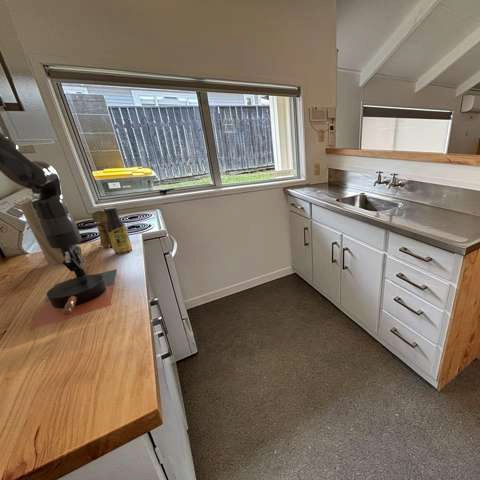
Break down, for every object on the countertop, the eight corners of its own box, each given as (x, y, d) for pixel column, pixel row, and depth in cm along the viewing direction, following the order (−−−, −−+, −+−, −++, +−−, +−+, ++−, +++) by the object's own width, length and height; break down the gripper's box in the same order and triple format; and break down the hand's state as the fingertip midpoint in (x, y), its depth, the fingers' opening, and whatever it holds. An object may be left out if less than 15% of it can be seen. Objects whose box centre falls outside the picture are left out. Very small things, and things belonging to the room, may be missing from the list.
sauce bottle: (122, 257, 106) (105, 210, 98) (112, 255, 108) (94, 209, 100) (137, 250, 112) (122, 206, 104) (127, 249, 113) (111, 205, 106)
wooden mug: (99, 253, 111) (83, 213, 104) (102, 243, 121) (87, 206, 114) (124, 247, 115) (111, 209, 108) (124, 239, 126) (112, 203, 119)
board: (29, 332, 65) (28, 329, 65) (56, 285, 86) (55, 283, 86) (111, 307, 74) (110, 305, 74) (118, 270, 95) (117, 268, 95)
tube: (58, 268, 98) (27, 205, 89) (43, 265, 102) (12, 203, 92) (87, 257, 107) (62, 198, 97) (73, 254, 110) (47, 197, 101)
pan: (36, 331, 64) (29, 320, 63) (58, 292, 81) (53, 282, 80) (101, 312, 71) (96, 301, 69) (109, 279, 87) (105, 270, 86)
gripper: (49, 226, 81) (71, 274, 88) (37, 239, 71) (63, 291, 78) (80, 221, 85) (99, 267, 92) (72, 233, 75) (95, 283, 82)
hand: (83, 278), depth 85 cm, fingers closed
